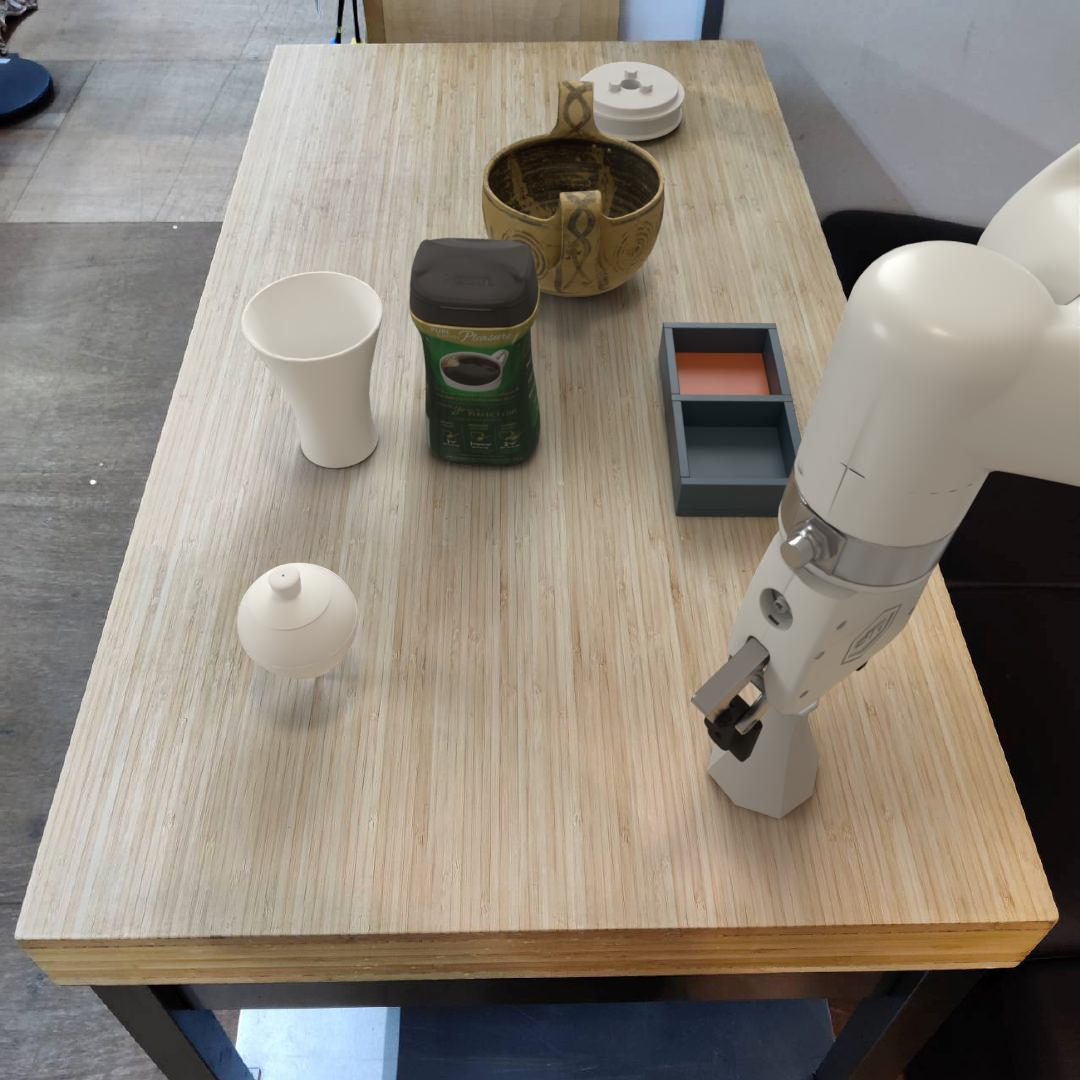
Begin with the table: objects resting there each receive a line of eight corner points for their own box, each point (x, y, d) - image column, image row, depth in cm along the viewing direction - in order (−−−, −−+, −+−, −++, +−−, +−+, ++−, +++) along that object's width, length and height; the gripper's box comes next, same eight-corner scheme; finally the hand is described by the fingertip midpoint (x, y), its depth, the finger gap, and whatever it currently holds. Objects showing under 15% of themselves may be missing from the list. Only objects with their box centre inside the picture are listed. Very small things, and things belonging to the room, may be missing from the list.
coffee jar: (543, 407, 86) (545, 223, 72) (536, 474, 81) (536, 291, 67) (434, 401, 87) (414, 216, 72) (420, 467, 82) (395, 283, 67)
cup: (378, 497, 80) (354, 371, 69) (257, 474, 81) (216, 348, 71) (417, 409, 86) (401, 281, 75) (305, 389, 88) (274, 261, 77)
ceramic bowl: (663, 349, 91) (682, 205, 79) (480, 348, 91) (472, 204, 79) (648, 210, 105) (662, 71, 93) (489, 209, 105) (483, 69, 93)
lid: (681, 151, 112) (687, 109, 108) (571, 146, 113) (572, 104, 109) (680, 95, 120) (685, 54, 116) (577, 91, 121) (578, 50, 117)
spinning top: (370, 624, 72) (345, 520, 63) (374, 717, 67) (347, 619, 58) (264, 637, 71) (222, 533, 62) (261, 731, 67) (215, 635, 57)
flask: (784, 839, 62) (821, 771, 54) (687, 775, 65) (708, 700, 57) (836, 756, 66) (877, 680, 58) (742, 698, 68) (769, 618, 61)
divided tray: (801, 517, 79) (812, 485, 76) (675, 516, 79) (681, 484, 76) (767, 355, 91) (775, 322, 88) (658, 354, 91) (662, 321, 88)
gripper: (797, 664, 39) (724, 830, 53) (1050, 473, 46) (929, 663, 60) (671, 545, 43) (632, 729, 56) (923, 385, 50) (835, 583, 63)
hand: (785, 695), depth 58 cm, fingers open, 9 cm apart
